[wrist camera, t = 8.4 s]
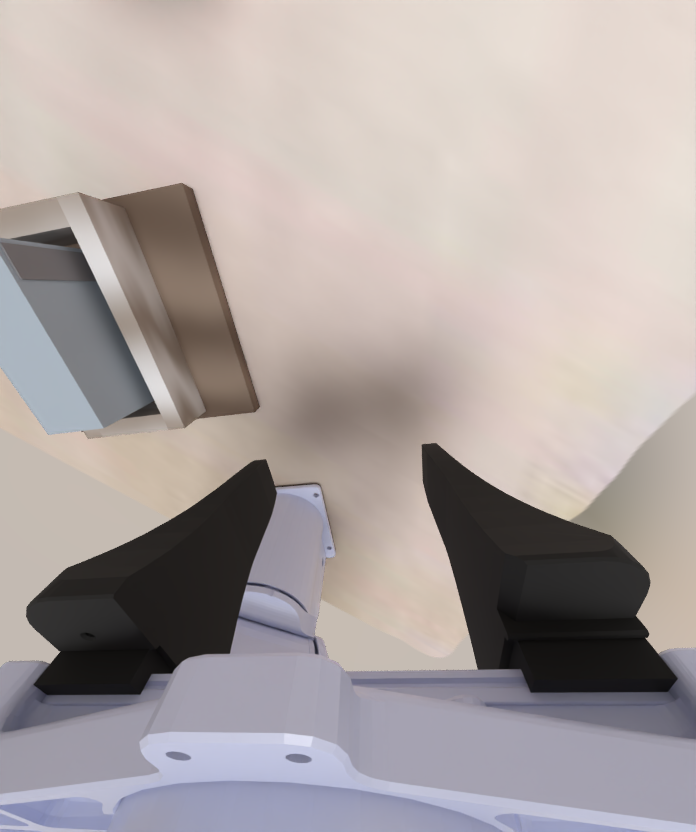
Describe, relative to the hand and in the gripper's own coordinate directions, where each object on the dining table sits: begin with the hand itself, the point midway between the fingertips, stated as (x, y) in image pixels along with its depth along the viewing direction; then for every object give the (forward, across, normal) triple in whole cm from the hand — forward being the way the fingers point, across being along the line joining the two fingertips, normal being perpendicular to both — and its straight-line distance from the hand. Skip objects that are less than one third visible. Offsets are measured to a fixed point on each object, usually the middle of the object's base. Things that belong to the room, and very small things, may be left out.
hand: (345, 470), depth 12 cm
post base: (+9, +15, -7) cm, 19 cm away
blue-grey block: (+8, +15, -7) cm, 19 cm away
